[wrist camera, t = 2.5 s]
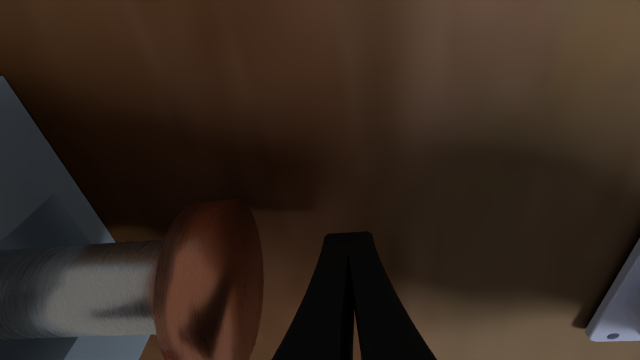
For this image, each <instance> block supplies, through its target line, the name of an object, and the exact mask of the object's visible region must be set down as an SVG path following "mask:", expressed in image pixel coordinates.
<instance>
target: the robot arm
mask: <svg viewBox="0 0 640 360" xmlns="http://www.w3.org/2000/svg"><path fill="white" fill-rule="evenodd" d="M354 309H355V316H356V323H357V330H358V337H359V344H360V350H361V358H362V360H437V359H436V358H435V356H434V355H433V353H432V352H431V350H430V349H429V347H428V346H427V344H426V343H425V341H424V340H423V338H422V337H421V335H420V333H419V332H418V330H417V329H416V327H415V325H414V324H413V322H412V320H411V319H410V317H409V315H408V314H407V312H406V310H405V308H404V307H403V305H402V303H401V301H400V300H399V298H398V296H397V294H396V292H395V290H394V288H393V286H392V284H391V282H390V280H389V278H388V276H387V274H386V272H385V270H384V268H383V265H382V263H381V261H380V258H379V256H378V253H377V250H376V247H375V244H374V241H373V237H372V234H371V233H370V232H368V231H366V232H350V233H334V234H327V235H326V236H325V237H324V242H323V246H322V250H321V254H320V257H319V260H318V263H317V266H316V268H315V271H314V274H313V276H312V279H311V281H310V284H309V286H308V289H307V291H306V294H305V296H304V298H303V300H302V302H301V304H300V307H299V309H298V311H297V313H296V315H295V317H294V319H293V321H292V323H291V325H290V327H289V329H288V331H287V333H286V335H285V337H284V339H283V340H282V342H281V344H280V346H279V348H278V349H277V351H276V353H275V355H274V356H273V358H272V360H353V335H354ZM585 333H586V334H587V336H588V338H589V339H590V340H592V341H596V342H606V341H640V238H639V240H638V242H637V243H636V245H635V247H634V248H633V250H632V252H631V254H630V255H629V257H628V259H627V260H626V262H625V264H624V265H623V267H622V269H621V270H620V272H619V274H618V275H617V277H616V279H615V281H614V282H613V284H612V286H611V287H610V289H609V291H608V292H607V294H606V296H605V297H604V299H603V301H602V302H601V304H600V306H599V308H598V309H597V311H596V313H595V314H594V316H593V318H592V319H591V321H590V323H589V324H588V326H587V328H586V330H585Z"/></svg>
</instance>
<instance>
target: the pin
mask: <svg viewBox="0 0 640 360" xmlns="http://www.w3.org/2000/svg"><path fill="white" fill-rule="evenodd" d="M263 284H264V277H263V258H262V249H261V243H260V237H259V233H258V229H257V226H256V223H255V220H254V217H253V215H252V213H251V211H250V210H249V208H248V207H247V205H246V204H245V203H244V202H242V201H240V200H238V199H231V200H217V201H204V202H195V203H192V204H190V205H188V206H186V207H185V208H184V209H182V210H181V212H180V213H179V214H178V215H177V216H176V218H175V219H174V221H173V222H172V224H171V226H170V228H169V230H168V232H167V234H166V236H165V239H164V240H149V241H133V242H117V243H102V244H86V245H70V246H55V247H39V248H23V249H8V250H0V339H27V338H58V337H90V336H121V335H152V334H157V339H158V343H159V346H160V350H161V352H162V354H163V357H164V359H165V360H249V358H250V356H251V353H252V351H253V348H254V345H255V342H256V338H257V334H258V330H259V325H260V319H261V312H262V303H263Z"/></svg>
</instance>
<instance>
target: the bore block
mask: <svg viewBox="0 0 640 360" xmlns="http://www.w3.org/2000/svg"><path fill="white" fill-rule="evenodd" d="M102 243H116V242H115V240H114V239H113V238H112V236H111V235H110V233H109V232H108V230H107V229H106V227H105V226H104V224H103V223H102V221H101V220H100V218H99V217H98V215H97V214H96V212H95V211H94V209H93V208H92V207H91V205H90V204H89V202H88V201H87V199H86V198H85V196H84V195H83V193H82V192H81V190H80V189H79V187H78V186H77V184H76V183H75V181H74V180H73V178H72V177H71V175H70V174H69V173H68V171H67V170H66V168H65V167H64V165H63V164H62V162H61V161H60V159H59V158H58V156H57V155H56V153H55V152H54V150H53V149H52V147H51V146H50V144H49V143H48V142H47V140H46V139H45V137H44V136H43V134H42V133H41V131H40V130H39V128H38V127H37V125H36V124H35V122H34V121H33V119H32V118H31V116H30V115H29V113H28V112H27V110H26V109H25V108H24V106H23V105H22V103H21V102H20V100H19V99H18V97H17V96H16V94H15V93H14V91H13V90H12V88H11V87H10V85H9V84H8V82H7V81H6V79H5V78H4V76H0V250H8V249H23V248H39V247H55V246H70V245H86V244H102ZM149 337H150V335H121V336H90V337H58V338H27V339H0V360H139V358H140V356H141V354H142V351H143V349H144V347H145V345H146V343H147V341H148V339H149Z"/></svg>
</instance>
